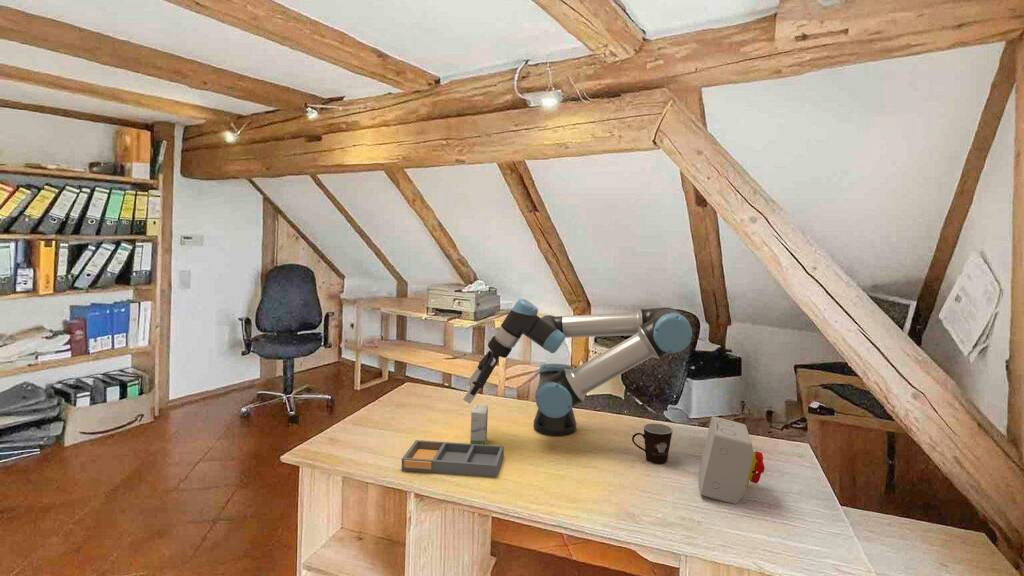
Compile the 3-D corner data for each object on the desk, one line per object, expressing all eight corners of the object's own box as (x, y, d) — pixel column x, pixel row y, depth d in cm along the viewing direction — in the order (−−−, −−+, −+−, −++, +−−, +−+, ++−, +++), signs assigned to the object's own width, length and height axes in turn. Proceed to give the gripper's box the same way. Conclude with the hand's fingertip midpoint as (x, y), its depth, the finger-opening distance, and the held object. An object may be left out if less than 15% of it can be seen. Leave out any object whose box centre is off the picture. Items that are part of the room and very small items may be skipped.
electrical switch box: (758, 516, 144) (777, 445, 140) (699, 499, 148) (715, 429, 144) (752, 490, 157) (768, 425, 154) (697, 475, 161) (712, 411, 158)
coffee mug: (671, 456, 174) (673, 425, 173) (669, 467, 166) (671, 435, 165) (634, 450, 178) (635, 420, 177) (630, 461, 170) (632, 430, 169)
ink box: (472, 437, 187) (472, 404, 185) (487, 438, 186) (488, 404, 185) (469, 448, 178) (469, 413, 177) (485, 448, 178) (486, 413, 176)
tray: (503, 456, 172) (503, 445, 172) (496, 478, 158) (496, 466, 157) (416, 450, 176) (416, 440, 175) (401, 471, 161) (400, 459, 161)
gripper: (494, 325, 192) (462, 373, 196) (492, 347, 168) (454, 402, 171) (512, 337, 193) (479, 385, 197) (512, 360, 169) (475, 414, 172)
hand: (468, 393), depth 184 cm, fingers open, 13 cm apart
